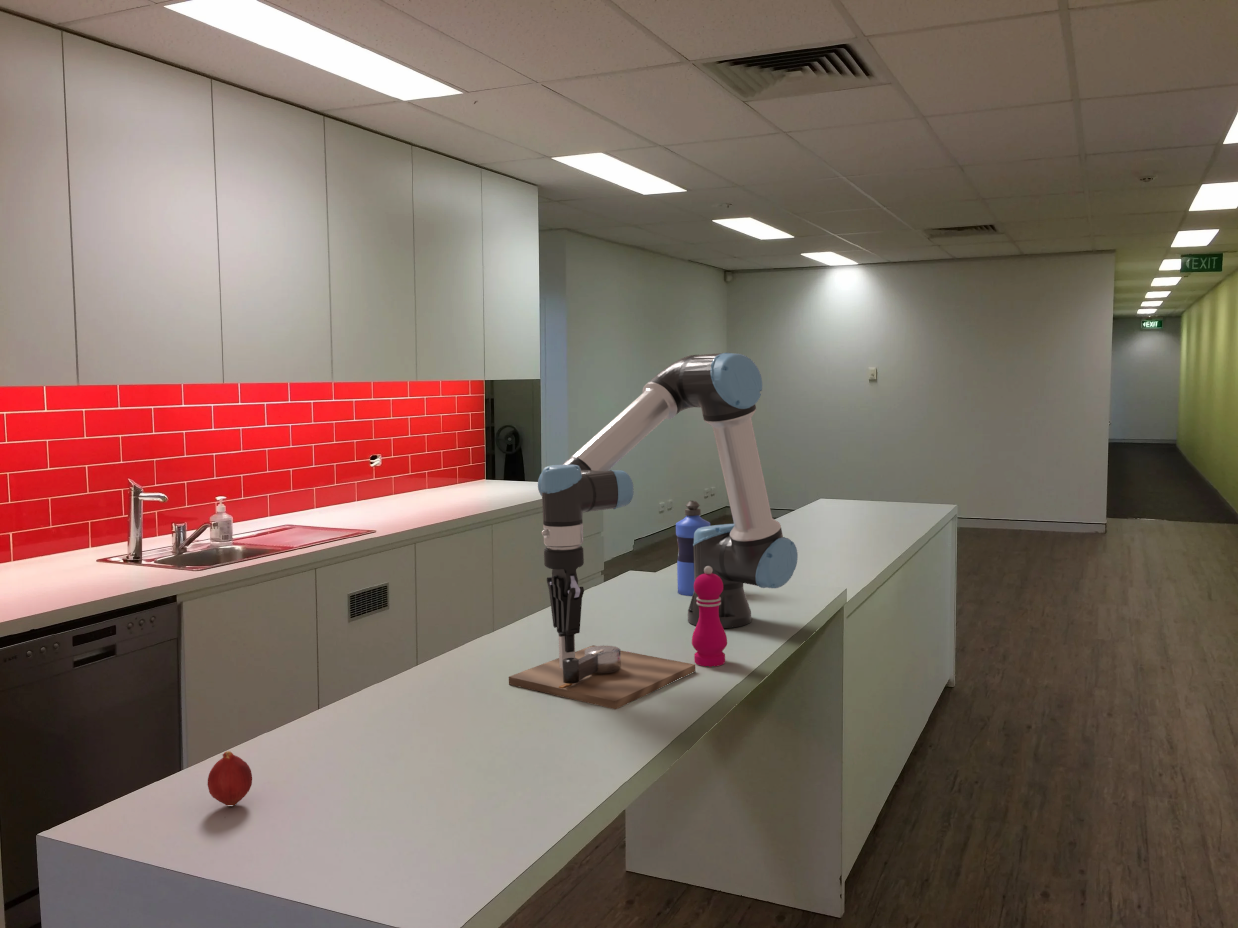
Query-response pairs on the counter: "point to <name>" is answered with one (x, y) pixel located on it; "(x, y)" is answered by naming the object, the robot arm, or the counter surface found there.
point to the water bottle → (687, 547)
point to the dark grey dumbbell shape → (592, 663)
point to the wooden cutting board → (606, 679)
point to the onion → (229, 779)
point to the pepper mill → (709, 621)
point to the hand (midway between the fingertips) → (567, 666)
